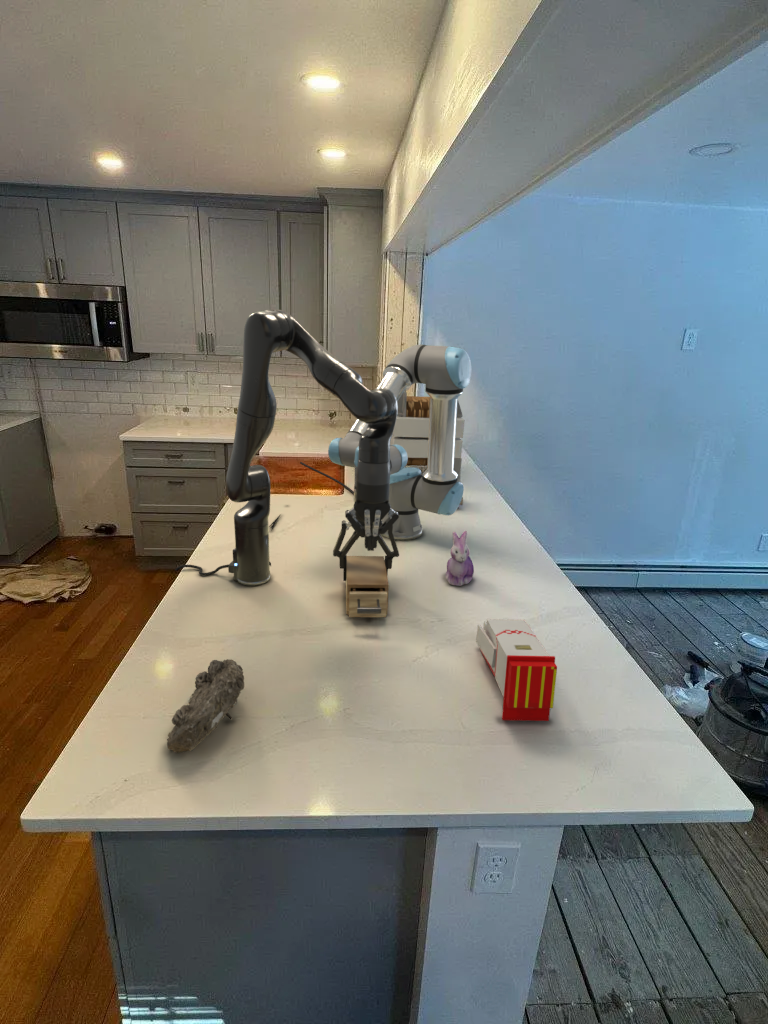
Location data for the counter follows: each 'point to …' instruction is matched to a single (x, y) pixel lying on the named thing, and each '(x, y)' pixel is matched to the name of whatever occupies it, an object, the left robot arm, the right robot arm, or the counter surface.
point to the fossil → (206, 705)
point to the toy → (519, 668)
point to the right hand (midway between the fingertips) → (365, 578)
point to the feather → (275, 522)
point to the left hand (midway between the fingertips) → (370, 549)
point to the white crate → (421, 431)
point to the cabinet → (365, 574)
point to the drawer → (367, 602)
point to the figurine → (459, 562)
